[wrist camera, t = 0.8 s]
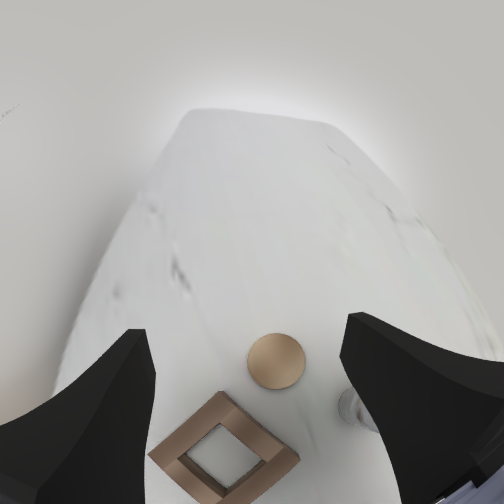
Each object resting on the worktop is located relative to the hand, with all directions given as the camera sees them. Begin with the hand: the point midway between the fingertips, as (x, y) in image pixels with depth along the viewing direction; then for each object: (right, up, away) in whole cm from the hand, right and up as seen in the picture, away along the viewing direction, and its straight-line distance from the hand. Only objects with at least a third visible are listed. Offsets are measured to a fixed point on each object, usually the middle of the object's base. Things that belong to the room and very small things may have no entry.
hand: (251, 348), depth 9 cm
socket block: (-2, -16, +11) cm, 19 cm away
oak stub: (+2, -7, +16) cm, 17 cm away
